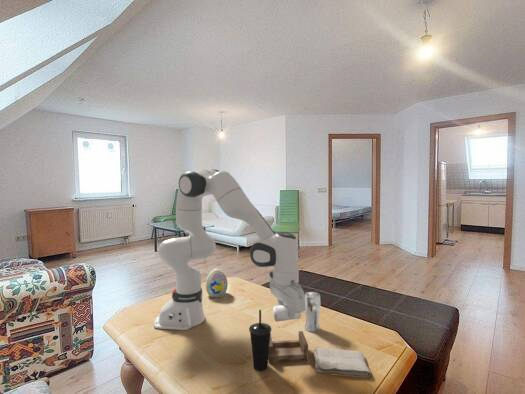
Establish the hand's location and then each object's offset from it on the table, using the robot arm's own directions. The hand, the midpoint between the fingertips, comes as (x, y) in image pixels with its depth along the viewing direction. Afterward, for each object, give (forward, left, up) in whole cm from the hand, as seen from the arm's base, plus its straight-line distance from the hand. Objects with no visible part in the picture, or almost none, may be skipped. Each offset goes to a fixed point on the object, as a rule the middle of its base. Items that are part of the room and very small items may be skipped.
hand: (286, 314), depth 101 cm
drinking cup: (-10, -6, -16) cm, 20 cm away
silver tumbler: (+14, +17, -16) cm, 27 cm away
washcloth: (+18, -7, -16) cm, 25 cm away
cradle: (0, 0, -15) cm, 15 cm away
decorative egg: (-31, +57, -16) cm, 67 cm away
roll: (0, 0, +1) cm, 1 cm away
